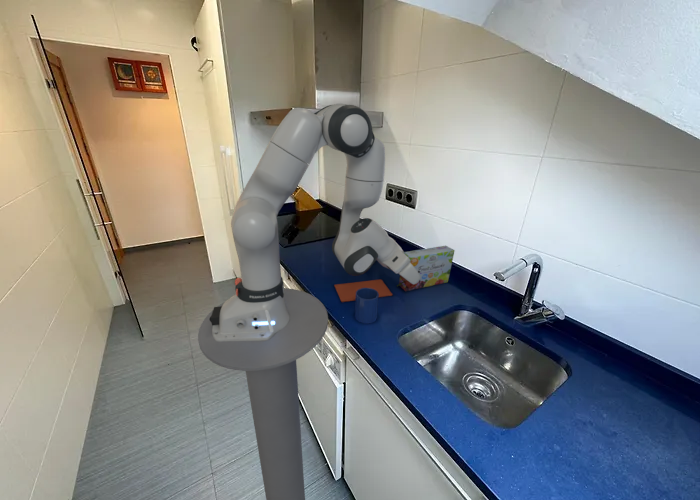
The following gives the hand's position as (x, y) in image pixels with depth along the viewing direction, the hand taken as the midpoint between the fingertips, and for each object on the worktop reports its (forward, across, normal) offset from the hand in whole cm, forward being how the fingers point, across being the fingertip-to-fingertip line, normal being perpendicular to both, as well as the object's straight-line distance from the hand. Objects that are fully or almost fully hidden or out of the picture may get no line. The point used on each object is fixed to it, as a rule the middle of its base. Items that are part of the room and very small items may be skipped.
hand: (410, 275), depth 103 cm
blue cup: (-7, +6, -20) cm, 22 cm away
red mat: (-3, -10, -17) cm, 20 cm away
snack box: (+15, -7, +2) cm, 17 cm away
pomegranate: (+3, 0, -4) cm, 5 cm away
